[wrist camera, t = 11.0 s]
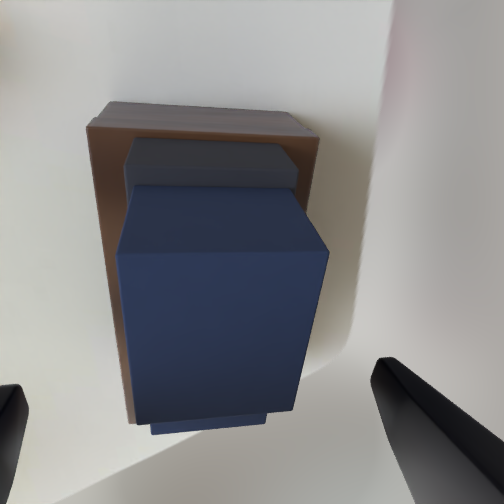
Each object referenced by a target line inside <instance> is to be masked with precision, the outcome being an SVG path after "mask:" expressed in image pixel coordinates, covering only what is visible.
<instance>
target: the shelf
mask: <svg viewBox="0 0 504 504" xmlns="http://www.w3.org/2000/svg"><path fill="white" fill-rule="evenodd" d="M86 133H87V140H88V147H89V154H90V161H91V168H92V175H93V182H94V189H95V196H96V203H97V210H98V217H99V224H100V230H101V237H102V244H103V251H104V258H105V265H106V272H107V279H108V286H109V293H110V300H111V307H112V314H113V321H114V328H115V334H116V341H117V348H118V355H119V362H120V369H121V376H122V383H123V390H124V397H125V404H126V411H127V418H128V423H129V424H136V418H135V411H134V403H133V395H132V387H131V379H130V371H129V363H128V355H127V347H126V339H125V331H124V323H123V315H122V307H121V299H120V291H119V283H118V275H117V267H116V259H115V254H116V250H117V246H118V243H119V239H120V235H121V231H122V228H123V224H124V220H125V216H126V213H127V209H128V208H127V198H126V187H125V177H124V167H123V166H124V164H125V161H126V158H127V155H128V153H129V150H130V147H131V144H132V142H133V139H134V138H135V137H138V138H161V139H184V140H208V141H231V142H254V143H277V144H280V146H281V147H282V148H283V150H284V151H285V152H286V154H287V155H288V156H289V158H290V159H291V160H292V161H293V163H294V164H295V165H296V167H297V168H298V169H299V175H298V182H297V188H296V194H295V198H296V199H297V201H298V203H299V204H300V206H301V207H302V209H303V210H304V212H305V214H306V210H307V205H308V199H309V194H310V188H311V183H312V177H313V172H314V167H315V161H316V156H317V150H318V145H319V137H318V136H317V135H316V134H315V133H313V132H312V131H311V130H310V129H308V128H304V127H303V126H302V125H301V124H300V123H299V122H297V121H296V120H295V119H294V118H293V117H292V116H291V115H290V114H289V113H287V112H278V111H261V110H244V109H227V108H211V107H194V106H177V105H160V104H144V103H127V102H109V103H108V104H107V106H106V107H105V108H104V109H103V111H102V112H101V113H100V114H99V116H98V117H95V118H93V119H92V120H91V122H90V123H89V124H88V125H87V126H86Z"/></svg>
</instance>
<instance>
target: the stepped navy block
mask: <svg viewBox="0 0 504 504" xmlns="http://www.w3.org/2000/svg"><path fill="white" fill-rule="evenodd" d="M123 167H124V177H125V187H126V198H127V208H128V209H127V213H126V216H125V220H124V224H123V228H122V231H121V235H120V239H119V243H118V246H117V250H116V254H115V259H116V267H117V275H118V283H119V291H120V299H121V307H122V315H123V323H124V331H125V339H126V347H127V355H128V363H129V371H130V379H131V387H132V395H133V403H134V411H135V418H136V424H137V425H147V424H150V427H151V434H152V435H159V434H169V433H179V432H189V431H199V430H209V429H218V428H229V427H239V426H249V425H259V424H265V422H266V416H267V413H274V412H284V411H292V410H293V406H294V402H295V398H296V394H297V390H298V385H299V381H300V377H301V373H302V368H303V364H304V360H305V356H306V351H307V347H308V343H309V339H310V334H311V330H312V326H313V322H314V317H315V313H316V309H317V305H318V300H319V296H320V292H321V288H322V283H323V279H324V275H325V271H326V266H327V262H328V258H329V250H328V249H327V247H326V245H325V244H324V242H323V241H322V239H321V237H320V236H319V234H318V233H317V231H316V229H315V228H314V226H313V225H312V223H311V222H310V220H309V218H308V217H307V215H306V214H305V212H304V210H303V209H302V207H301V206H300V204H299V203H298V201H297V199H296V198H295V194H296V188H297V182H298V175H299V169H298V168H297V167H296V165H295V164H294V163H293V161H292V160H291V159H290V158H289V156H288V155H287V154H286V152H285V151H284V150H283V148H282V147H281V146H280V144H277V143H254V142H231V141H208V140H184V139H161V138H138V137H135V138H134V139H133V142H132V144H131V147H130V150H129V153H128V155H127V158H126V161H125V164H124V166H123Z"/></svg>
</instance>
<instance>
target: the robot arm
mask: <svg viewBox="0 0 504 504" xmlns="http://www.w3.org/2000/svg"><path fill="white" fill-rule="evenodd" d="M370 382H371V387H372V391H373V394H374V397H375V400H376V403H377V406H378V410H379V413H380V416H381V419H382V422H383V425H384V429H385V432H386V435H387V437H388V440H389V443H390V445H391V447H392V450H393V452H394V455H395V457H396V459H397V462H398V464H399V467H400V469H401V471H402V473H403V476H404V478H405V480H406V483H407V485H408V488H409V490H410V492H411V495H412V497H413V499H414V502H415V504H504V442H503V441H502V440H501V439H500V438H498V437H497V436H496V435H494V434H493V433H492V432H490V431H489V430H488V429H486V428H485V427H484V426H482V425H481V424H480V423H479V422H477V421H476V420H475V419H473V418H472V417H471V416H470V415H468V414H467V413H466V412H464V411H463V410H462V409H461V408H459V407H458V406H457V405H455V404H454V403H453V402H451V401H450V400H449V399H447V398H446V397H445V396H444V395H442V394H441V393H440V392H438V391H437V390H436V389H434V388H433V387H432V386H431V385H429V384H428V383H427V382H425V381H424V380H423V379H421V378H420V377H419V376H418V375H416V374H415V373H414V372H412V371H411V370H410V369H408V368H407V367H406V366H405V365H403V364H402V363H401V362H399V361H398V360H397V359H395V358H393V357H385V358H379V359H378V360H377V362H376V365H375V367H374V370H373V373H372V375H371V380H370ZM28 414H29V407H28V403H27V400H26V398H25V395H24V392H23V389H22V387H21V386H20V385H19V384H9V385H1V386H0V504H6V502H7V499H8V497H9V493H10V490H11V487H12V484H13V480H14V476H15V472H16V468H17V463H18V459H19V454H20V450H21V446H22V441H23V437H24V432H25V428H26V424H27V419H28Z"/></svg>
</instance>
